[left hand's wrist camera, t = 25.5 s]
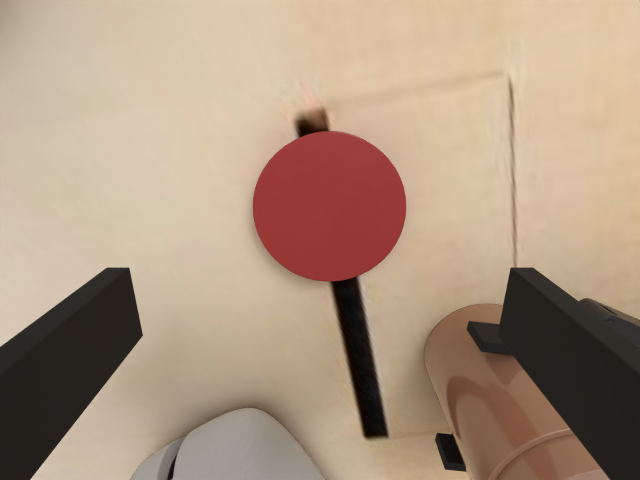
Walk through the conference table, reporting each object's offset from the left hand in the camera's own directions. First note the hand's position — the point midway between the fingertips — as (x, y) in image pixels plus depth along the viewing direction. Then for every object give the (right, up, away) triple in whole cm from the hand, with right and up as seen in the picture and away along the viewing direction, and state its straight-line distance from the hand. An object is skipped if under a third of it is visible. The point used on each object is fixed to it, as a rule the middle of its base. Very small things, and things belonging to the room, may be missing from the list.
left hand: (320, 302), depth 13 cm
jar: (+15, -8, +20) cm, 26 cm away
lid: (+1, +4, +14) cm, 15 cm away
